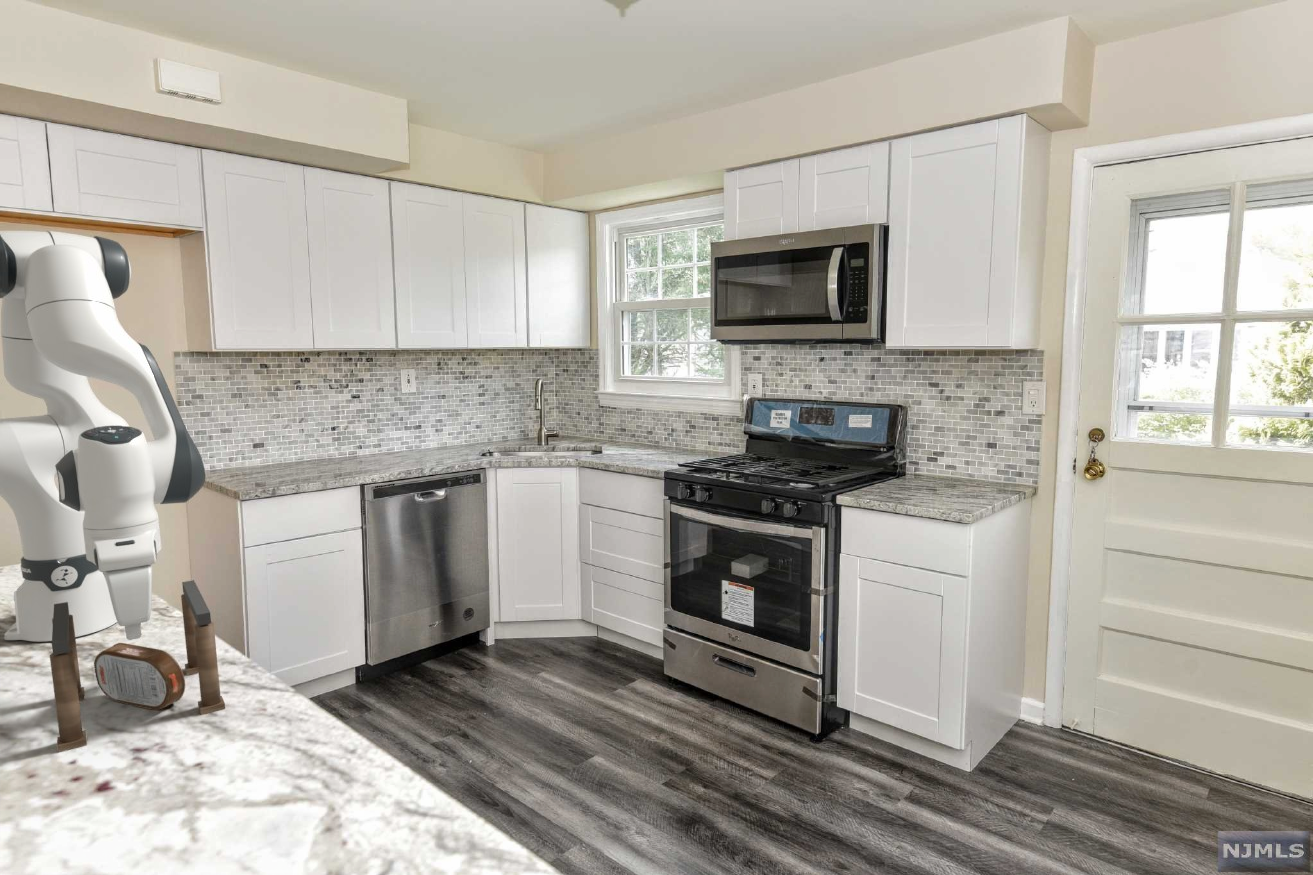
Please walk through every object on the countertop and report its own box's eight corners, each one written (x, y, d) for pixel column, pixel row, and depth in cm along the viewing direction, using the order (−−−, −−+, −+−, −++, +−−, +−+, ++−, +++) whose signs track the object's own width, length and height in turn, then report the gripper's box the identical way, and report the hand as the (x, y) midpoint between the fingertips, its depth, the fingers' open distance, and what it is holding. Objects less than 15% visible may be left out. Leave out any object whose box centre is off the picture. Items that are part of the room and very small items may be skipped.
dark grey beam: (183, 591, 123) (182, 582, 123) (194, 589, 124) (193, 580, 123) (198, 625, 108) (197, 614, 108) (211, 623, 109) (210, 612, 109)
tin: (189, 706, 112) (183, 650, 111) (169, 716, 109) (163, 659, 108) (114, 691, 117) (108, 637, 116) (93, 700, 114) (86, 646, 113)
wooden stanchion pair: (59, 697, 115) (49, 616, 113) (206, 663, 126) (199, 590, 125) (57, 752, 100) (46, 660, 98) (225, 708, 111) (217, 625, 109)
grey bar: (55, 614, 113) (54, 604, 113) (69, 612, 114) (67, 601, 114) (53, 655, 99) (51, 643, 99) (68, 652, 100) (67, 640, 100)
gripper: (94, 531, 116) (104, 619, 118) (98, 563, 100) (109, 665, 102) (144, 524, 120) (153, 610, 122) (156, 554, 104) (166, 653, 106)
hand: (133, 636), depth 112 cm, fingers closed
